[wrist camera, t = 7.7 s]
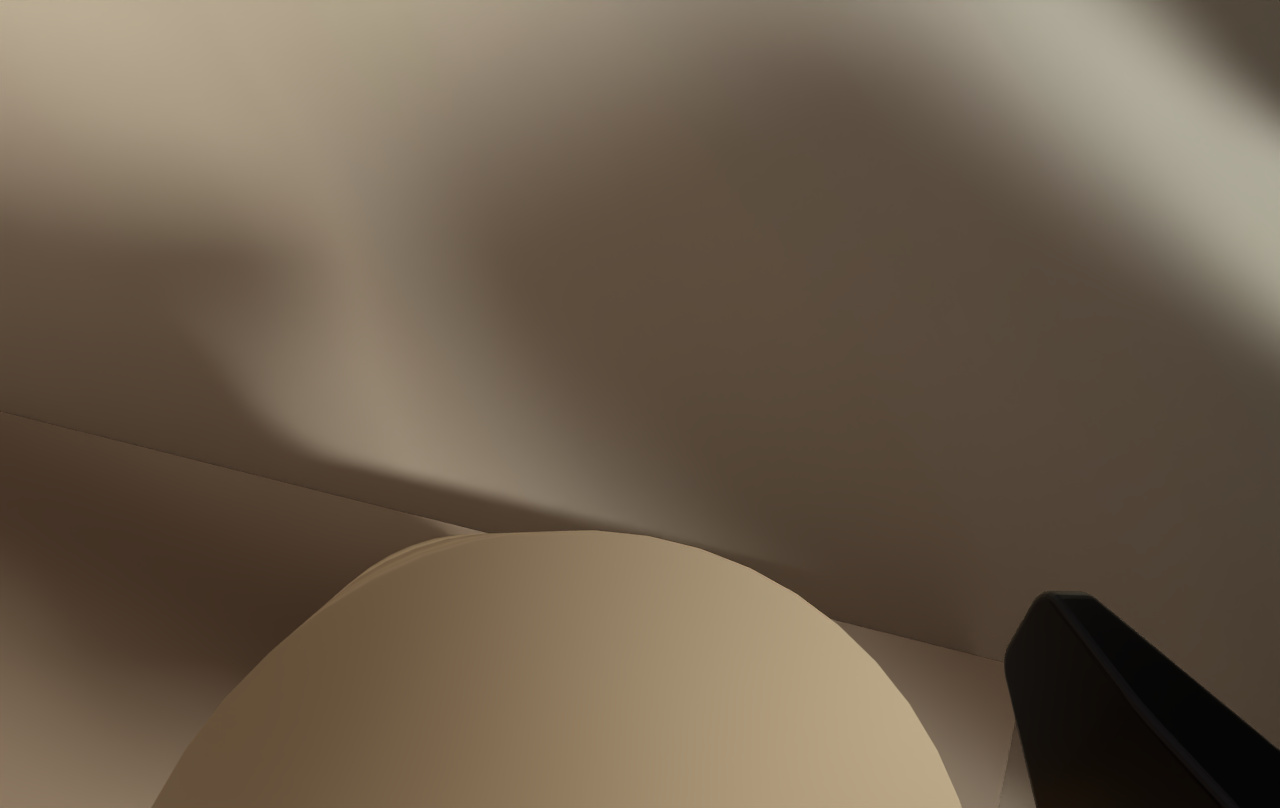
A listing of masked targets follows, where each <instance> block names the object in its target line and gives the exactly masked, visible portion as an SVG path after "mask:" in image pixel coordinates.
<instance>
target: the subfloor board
mask: <svg viewBox="0 0 1280 808" xmlns="http://www.w3.org/2000/svg"><path fill="white" fill-rule="evenodd" d="M461 534H489V533H485V532H481V531H477V530H473V529H469V528H465V527H461V526H457V525H453V524H449V523H445V522H441V521H437V520H433V519H429V518H425V517H421V516H417V515H413V514H409V513H405V512H401V511H397V510H393V509H389V508H385V507H381V506H377V505H373V504H369V503H365V502H361V501H357V500H353V499H349V498H345V497H341V496H337V495H333V494H329V493H325V492H321V491H317V490H313V489H309V488H305V487H301V486H297V485H293V484H289V483H285V482H281V481H277V480H273V479H269V478H265V477H261V476H257V475H253V474H249V473H245V472H241V471H237V470H233V469H229V468H225V467H221V466H217V465H213V464H209V463H205V462H201V461H197V460H193V459H189V458H185V457H181V456H177V455H173V454H169V453H165V452H161V451H157V450H153V449H149V448H145V447H141V446H137V445H133V444H129V443H125V442H121V441H117V440H113V439H109V438H105V437H101V436H97V435H93V434H89V433H85V432H81V431H77V430H73V429H69V428H65V427H61V426H57V425H53V424H49V423H45V422H41V421H37V420H33V419H29V418H25V417H21V416H17V415H13V414H9V413H5V412H1V411H0V808H151V807H152V805H153V804H154V802H155V800H156V799H157V797H158V795H159V793H160V792H161V790H162V788H163V787H164V785H165V783H166V781H167V780H168V778H169V776H170V775H171V773H172V771H173V770H174V768H175V766H176V764H177V763H178V761H179V759H180V758H181V756H182V754H183V752H184V751H185V749H186V748H187V747H188V745H189V744H190V743H191V741H192V740H193V739H194V738H195V736H196V735H197V734H198V732H199V731H200V730H201V728H202V727H203V726H204V724H205V723H206V722H207V721H208V719H209V718H210V717H211V715H212V714H213V713H214V711H215V710H216V709H217V707H218V706H219V705H220V704H221V702H222V701H223V700H224V698H225V697H226V696H227V695H228V694H229V693H230V692H231V691H232V690H233V689H234V688H235V687H236V686H237V685H238V684H239V683H240V682H241V681H242V680H243V679H244V678H245V677H246V676H247V675H248V674H249V673H250V672H251V671H252V670H253V669H254V668H255V667H256V666H257V665H258V664H259V663H260V662H261V661H262V660H263V659H264V658H265V657H266V656H267V655H268V654H269V653H270V652H271V651H272V650H273V649H274V648H275V647H277V646H278V645H279V644H280V643H281V642H282V641H283V640H285V639H286V638H287V637H288V636H289V635H290V634H292V633H293V632H294V631H295V630H296V629H297V628H298V627H300V626H301V625H302V624H303V623H304V622H305V621H307V620H308V619H309V618H310V617H311V616H312V615H313V614H315V613H316V612H317V611H318V610H319V609H320V608H321V607H323V606H324V605H325V604H326V603H327V602H328V601H330V600H331V599H332V598H333V597H334V596H335V595H336V594H338V593H339V592H340V591H341V590H342V589H343V588H345V587H346V586H347V585H348V584H349V583H350V582H352V581H353V580H354V579H355V578H357V577H358V576H359V575H360V574H362V573H363V572H364V571H365V570H367V569H368V568H369V567H371V566H373V565H374V564H376V563H377V562H379V561H381V560H382V559H384V558H386V557H387V556H389V555H391V554H393V553H395V552H398V551H400V550H402V549H404V548H407V547H409V546H411V545H414V544H418V543H421V542H424V541H428V540H431V539H434V538H440V537H446V536H453V535H461ZM831 620H832V621H834V622H835V623H836V624H838V625H839V626H840V627H841V628H842V629H843V630H844V631H845V632H846V633H847V634H848V635H849V636H850V637H851V638H852V639H853V640H854V641H855V642H856V643H857V644H858V645H859V646H860V647H861V648H862V649H863V650H865V651H866V652H867V653H868V654H869V655H870V656H871V657H872V658H873V659H874V660H875V661H876V662H877V663H878V665H879V666H880V667H881V669H882V670H883V671H884V672H885V674H886V675H887V676H888V677H889V679H890V680H891V681H892V682H893V684H894V685H895V686H896V688H897V689H898V690H899V691H900V693H901V694H902V695H903V696H904V698H905V699H906V700H907V701H908V703H909V704H910V706H911V707H912V709H913V711H914V712H915V714H916V716H917V717H918V719H919V721H920V722H921V724H922V726H923V727H924V729H925V731H926V732H927V734H928V736H929V737H930V739H931V741H932V742H933V744H934V746H935V747H936V749H937V751H938V753H939V755H940V757H941V760H942V762H943V764H944V767H945V769H946V771H947V773H948V776H949V778H950V780H951V782H952V785H953V787H954V789H955V791H956V794H957V796H958V798H959V801H960V804H961V807H962V808H999V804H1000V798H1001V793H1002V788H1003V783H1004V778H1005V772H1006V767H1007V762H1008V757H1009V752H1010V746H1011V741H1012V736H1013V731H1014V726H1015V716H1014V712H1013V708H1012V704H1011V699H1010V695H1009V691H1008V687H1007V683H1006V678H1005V672H1004V662H1001V661H997V660H993V659H989V658H985V657H981V656H977V655H973V654H969V653H965V652H961V651H957V650H953V649H949V648H945V647H941V646H937V645H933V644H929V643H925V642H921V641H917V640H913V639H909V638H905V637H901V636H897V635H893V634H889V633H885V632H881V631H877V630H873V629H869V628H865V627H861V626H857V625H853V624H849V623H845V622H841V621H837V620H833V619H831Z"/></svg>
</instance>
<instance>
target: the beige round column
mask: <svg viewBox="0 0 1280 808" xmlns="http://www.w3.org/2000/svg"><path fill="white" fill-rule="evenodd" d="M151 808H962V807H961V804H960V801H959V798H958V796H957V794H956V791H955V789H954V787H953V785H952V782H951V780H950V778H949V776H948V773H947V771H946V769H945V767H944V764H943V762H942V760H941V757H940V755H939V753H938V751H937V749H936V747H935V746H934V744H933V742H932V741H931V739H930V737H929V736H928V734H927V732H926V731H925V729H924V727H923V726H922V724H921V722H920V721H919V719H918V717H917V716H916V714H915V712H914V711H913V709H912V707H911V706H910V704H909V703H908V701H907V700H906V699H905V698H904V696H903V695H902V694H901V693H900V691H899V690H898V689H897V688H896V686H895V685H894V684H893V682H892V681H891V680H890V679H889V677H888V676H887V675H886V674H885V672H884V671H883V670H882V669H881V667H880V666H879V665H878V663H877V662H876V661H875V660H874V659H873V658H872V657H871V656H870V655H869V654H868V653H867V652H866V651H865V650H863V649H862V648H861V647H860V646H859V645H858V644H857V643H856V642H855V641H854V640H853V639H852V638H851V637H850V636H849V635H848V634H847V633H846V632H845V631H844V630H843V629H842V628H841V627H840V626H839V625H838V624H836V623H835V622H834V621H832V620H831V619H830V618H828V617H827V616H826V615H824V614H823V613H821V612H820V611H819V610H817V609H816V608H815V607H813V606H812V605H811V604H809V603H808V602H807V601H805V600H804V599H803V598H801V597H800V596H799V595H797V594H796V593H794V592H792V591H791V590H789V589H787V588H785V587H783V586H782V585H780V584H778V583H776V582H774V581H773V580H771V579H769V578H767V577H765V576H764V575H762V574H760V573H758V572H756V571H755V570H753V569H751V568H749V567H746V566H744V565H741V564H739V563H736V562H733V561H731V560H728V559H726V558H723V557H721V556H718V555H716V554H713V553H710V552H708V551H705V550H703V549H700V548H696V547H692V546H688V545H684V544H679V543H675V542H671V541H667V540H663V539H659V538H655V537H651V536H645V535H635V534H625V533H616V532H606V531H597V530H582V531H548V532H518V533H489V534H461V535H453V536H446V537H440V538H434V539H431V540H428V541H424V542H421V543H418V544H414V545H411V546H409V547H407V548H404V549H402V550H400V551H398V552H395V553H393V554H391V555H389V556H387V557H386V558H384V559H382V560H381V561H379V562H377V563H376V564H374V565H373V566H371V567H369V568H368V569H367V570H365V571H364V572H363V573H362V574H360V575H359V576H358V577H357V578H355V579H354V580H353V581H352V582H350V583H349V584H348V585H347V586H346V587H345V588H343V589H342V590H341V591H340V592H339V593H338V594H336V595H335V596H334V597H333V598H332V599H331V600H330V601H328V602H327V603H326V604H325V605H324V606H323V607H321V608H320V609H319V610H318V611H317V612H316V613H315V614H313V615H312V616H311V617H310V618H309V619H308V620H307V621H305V622H304V623H303V624H302V625H301V626H300V627H298V628H297V629H296V630H295V631H294V632H293V633H292V634H290V635H289V636H288V637H287V638H286V639H285V640H283V641H282V642H281V643H280V644H279V645H278V646H277V647H275V648H274V649H273V650H272V651H271V652H270V653H269V654H268V655H267V656H266V657H265V658H264V659H263V660H262V661H261V662H260V663H259V664H258V665H257V666H256V667H255V668H254V669H253V670H252V671H251V672H250V673H249V674H248V675H247V676H246V677H245V678H244V679H243V680H242V681H241V682H240V683H239V684H238V685H237V686H236V687H235V688H234V689H233V690H232V691H231V692H230V693H229V694H228V695H227V696H226V697H225V698H224V700H223V701H222V702H221V704H220V705H219V706H218V707H217V709H216V710H215V711H214V713H213V714H212V715H211V717H210V718H209V719H208V721H207V722H206V723H205V724H204V726H203V727H202V728H201V730H200V731H199V732H198V734H197V735H196V736H195V738H194V739H193V740H192V741H191V743H190V744H189V745H188V747H187V748H186V749H185V751H184V752H183V754H182V756H181V758H180V759H179V761H178V763H177V764H176V766H175V768H174V770H173V771H172V773H171V775H170V776H169V778H168V780H167V781H166V783H165V785H164V787H163V788H162V790H161V792H160V793H159V795H158V797H157V799H156V800H155V802H154V804H153V805H152V807H151Z"/></svg>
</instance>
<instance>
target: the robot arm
mask: <svg viewBox="0 0 1280 808" xmlns="http://www.w3.org/2000/svg"><path fill="white" fill-rule="evenodd" d="M1004 672H1005V678H1006V683H1007V687H1008V691H1009V695H1010V699H1011V704H1012V708H1013V712H1014V716H1015V720H1016V725H1017V729H1018V733H1019V737H1020V741H1021V746H1022V750H1023V754H1024V758H1025V762H1026V767H1027V771H1028V775H1029V779H1030V783H1031V788H1032V792H1033V796H1034V800H1035V804H1036V808H1280V750H1279V749H1278V748H1277V747H1275V746H1274V745H1273V744H1272V743H1270V742H1269V741H1268V740H1267V739H1266V738H1264V737H1263V736H1262V735H1261V734H1260V733H1258V732H1257V731H1256V730H1255V729H1253V728H1252V727H1251V726H1250V725H1249V724H1247V723H1246V722H1245V721H1244V720H1243V719H1241V718H1240V717H1239V716H1238V715H1236V714H1235V713H1234V712H1233V711H1232V710H1230V709H1229V708H1228V707H1227V706H1226V705H1224V704H1223V703H1222V702H1221V701H1220V700H1218V699H1217V698H1216V697H1215V696H1213V695H1212V694H1211V693H1210V692H1209V691H1207V690H1206V689H1205V688H1204V687H1203V686H1201V685H1200V684H1199V683H1198V682H1196V681H1195V680H1194V679H1193V678H1192V677H1190V676H1189V675H1188V674H1187V673H1186V672H1184V671H1183V670H1182V669H1181V668H1179V667H1178V666H1177V665H1176V664H1175V663H1173V662H1172V661H1171V660H1170V659H1169V658H1167V657H1166V656H1165V655H1164V654H1163V653H1161V652H1160V651H1159V650H1158V649H1156V648H1155V647H1154V646H1153V645H1152V644H1150V643H1149V642H1148V641H1147V640H1146V639H1144V638H1143V637H1142V636H1141V635H1139V634H1138V633H1137V632H1136V631H1135V630H1133V629H1132V628H1131V627H1130V626H1129V625H1127V624H1126V623H1125V622H1124V621H1122V620H1121V619H1120V618H1119V617H1118V616H1116V615H1115V614H1114V613H1113V612H1112V611H1110V610H1109V609H1108V608H1107V607H1106V606H1104V605H1103V604H1102V603H1101V602H1099V601H1098V600H1097V599H1096V598H1094V597H1093V596H1091V595H1089V594H1087V593H1084V592H1078V591H1047V592H1043V593H1042V594H1040V595H1039V596H1038V597H1036V599H1035V600H1034V601H1033V603H1032V605H1031V607H1030V608H1029V610H1028V612H1027V614H1026V615H1025V617H1024V619H1023V621H1022V622H1021V624H1020V626H1019V628H1018V629H1017V631H1016V633H1015V634H1014V636H1013V638H1012V640H1011V641H1010V643H1009V645H1008V647H1007V650H1006V654H1005V660H1004Z"/></svg>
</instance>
